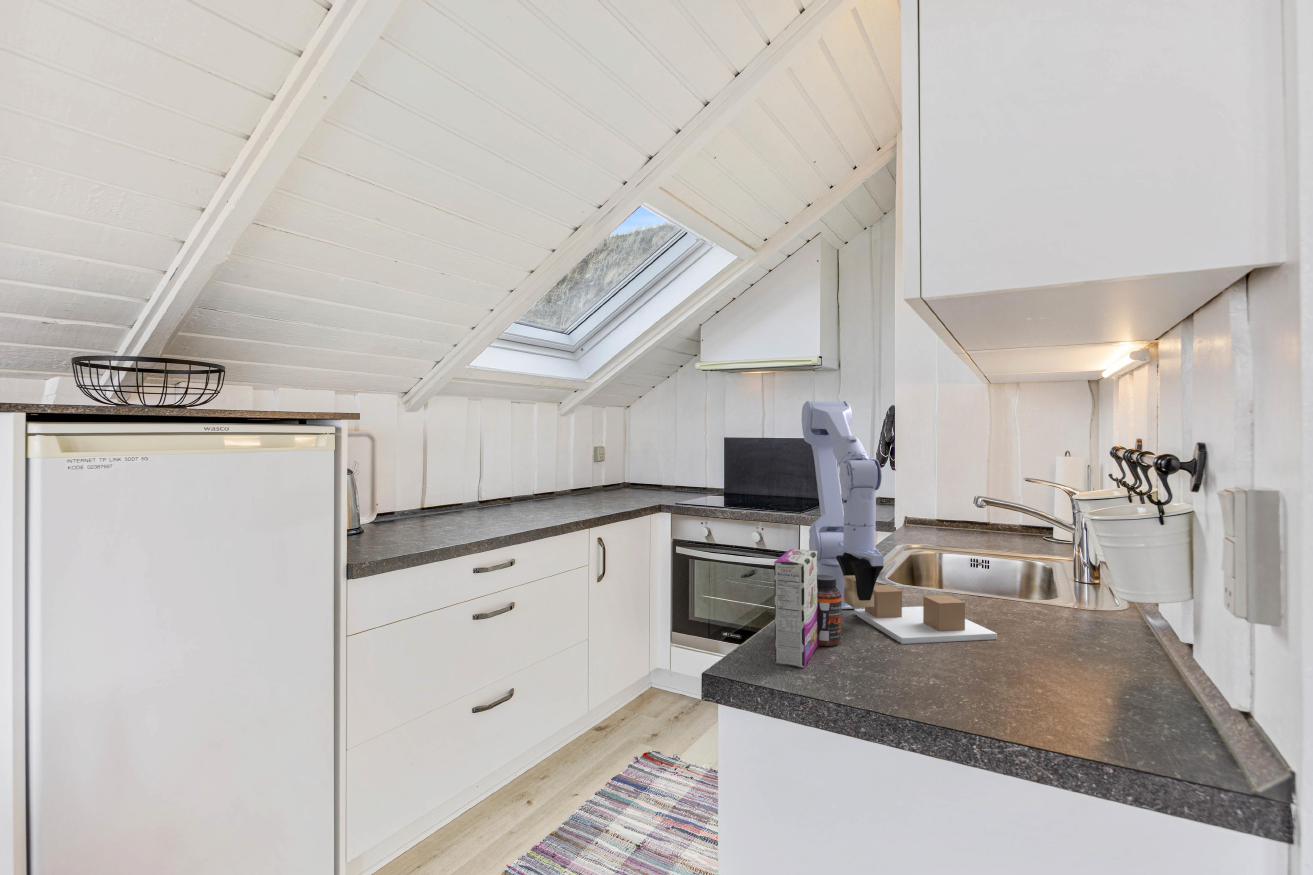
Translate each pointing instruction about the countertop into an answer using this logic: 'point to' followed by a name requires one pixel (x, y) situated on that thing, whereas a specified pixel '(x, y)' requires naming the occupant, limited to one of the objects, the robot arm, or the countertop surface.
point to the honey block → (854, 594)
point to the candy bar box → (796, 607)
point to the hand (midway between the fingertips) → (858, 596)
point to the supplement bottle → (828, 611)
